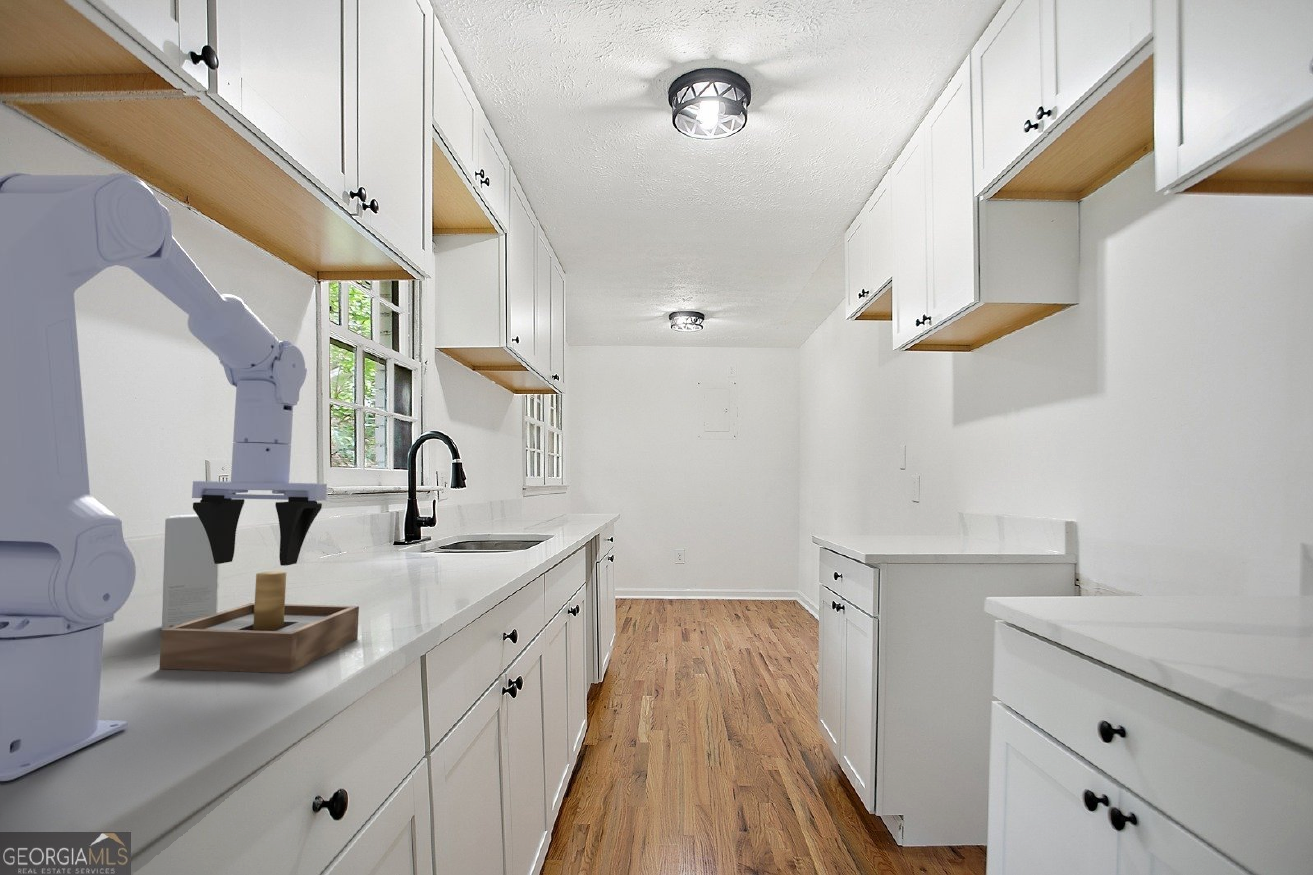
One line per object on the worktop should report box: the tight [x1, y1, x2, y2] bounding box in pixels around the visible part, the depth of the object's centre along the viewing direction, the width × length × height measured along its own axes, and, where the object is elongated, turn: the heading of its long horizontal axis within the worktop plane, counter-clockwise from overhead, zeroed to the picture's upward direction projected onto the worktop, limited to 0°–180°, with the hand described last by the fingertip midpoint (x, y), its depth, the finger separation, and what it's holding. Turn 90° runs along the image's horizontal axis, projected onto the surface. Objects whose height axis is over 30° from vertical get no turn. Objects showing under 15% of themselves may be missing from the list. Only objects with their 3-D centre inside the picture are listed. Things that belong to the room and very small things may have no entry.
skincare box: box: [161, 514, 220, 631], centre depth 85 cm, size 8×6×15 cm
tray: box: [158, 602, 360, 674], centre depth 75 cm, size 14×14×4 cm
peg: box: [253, 570, 287, 631], centre depth 75 cm, size 3×3×8 cm
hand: (255, 563), depth 74 cm, fingers open, 7 cm apart
